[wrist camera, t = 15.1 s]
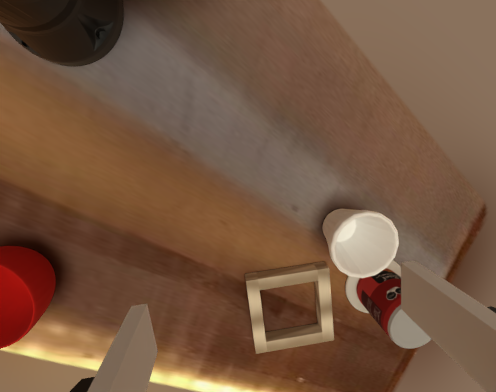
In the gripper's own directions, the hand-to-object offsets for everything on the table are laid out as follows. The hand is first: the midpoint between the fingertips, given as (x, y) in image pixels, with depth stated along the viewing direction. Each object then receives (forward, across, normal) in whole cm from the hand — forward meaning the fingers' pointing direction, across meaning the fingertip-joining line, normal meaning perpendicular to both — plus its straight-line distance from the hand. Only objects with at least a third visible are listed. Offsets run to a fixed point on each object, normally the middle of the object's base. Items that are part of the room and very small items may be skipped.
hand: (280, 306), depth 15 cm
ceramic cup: (+33, -36, -7) cm, 49 cm away
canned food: (+32, +22, -21) cm, 44 cm away
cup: (+33, +16, -9) cm, 38 cm away
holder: (+33, +6, -22) cm, 40 cm away
